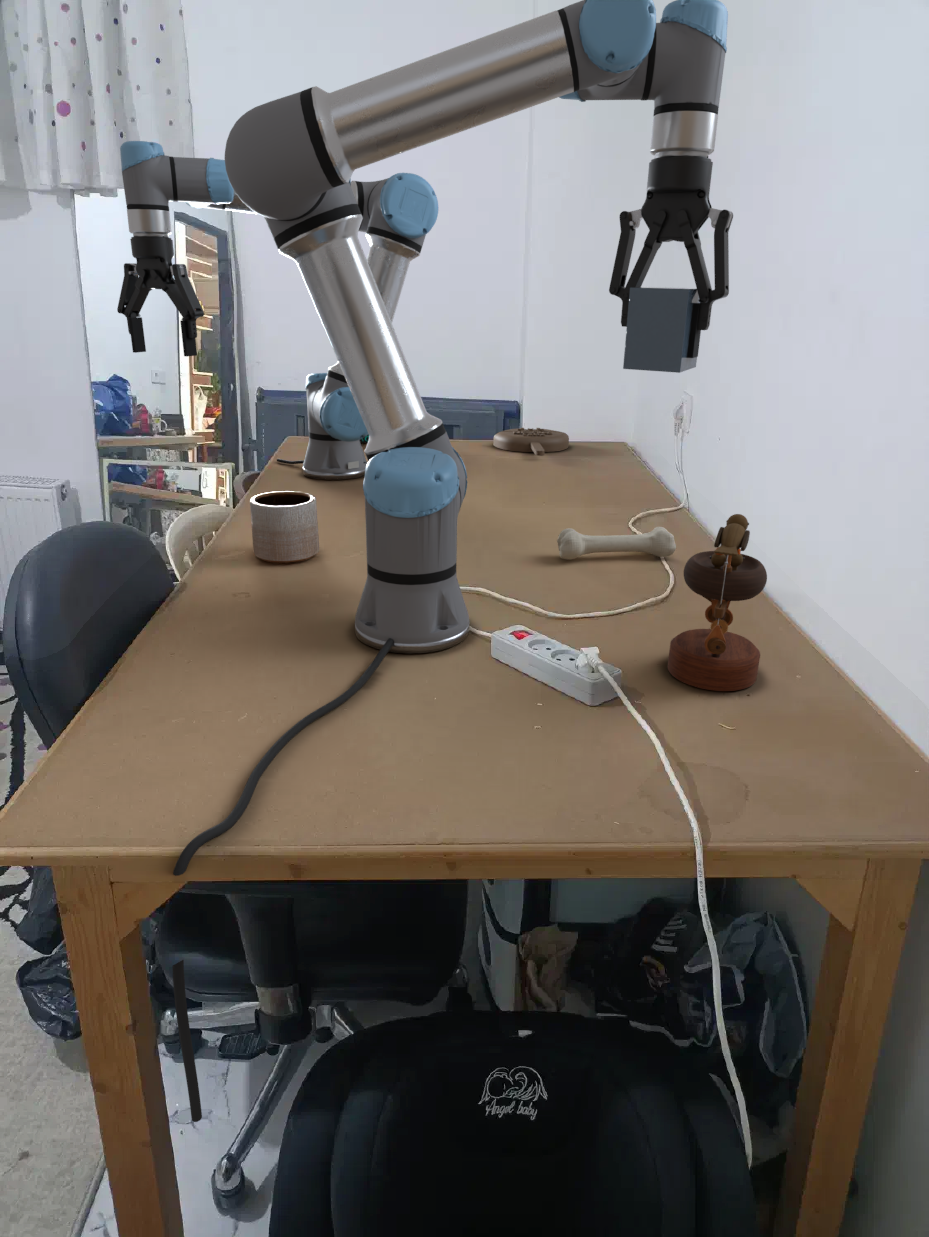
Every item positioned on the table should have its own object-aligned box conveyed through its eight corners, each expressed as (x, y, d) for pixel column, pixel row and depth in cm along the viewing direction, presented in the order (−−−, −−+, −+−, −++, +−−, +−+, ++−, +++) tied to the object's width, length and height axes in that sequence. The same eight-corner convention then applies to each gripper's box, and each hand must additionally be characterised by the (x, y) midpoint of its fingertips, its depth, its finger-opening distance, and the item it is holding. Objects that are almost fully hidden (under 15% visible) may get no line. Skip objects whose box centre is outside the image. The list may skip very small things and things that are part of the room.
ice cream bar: (499, 460, 215) (500, 444, 214) (491, 440, 241) (491, 425, 240) (581, 461, 216) (582, 444, 215) (564, 441, 242) (565, 426, 241)
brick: (695, 367, 113) (705, 288, 109) (679, 372, 106) (689, 289, 102) (641, 363, 116) (648, 287, 112) (622, 368, 109) (629, 287, 106)
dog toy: (664, 549, 148) (667, 521, 146) (677, 560, 143) (680, 531, 141) (552, 553, 145) (554, 525, 143) (561, 564, 139) (563, 535, 138)
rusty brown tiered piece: (773, 700, 96) (786, 530, 88) (674, 701, 97) (678, 534, 90) (747, 645, 110) (756, 494, 102) (660, 647, 111) (663, 498, 104)
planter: (251, 547, 145) (246, 492, 142) (314, 542, 148) (311, 489, 145) (256, 567, 136) (251, 509, 132) (324, 561, 139) (321, 504, 135)
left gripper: (216, 236, 156) (226, 356, 165) (119, 237, 167) (133, 349, 175) (186, 235, 150) (199, 359, 158) (87, 235, 161) (104, 351, 169)
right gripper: (774, 157, 101) (746, 357, 109) (610, 164, 109) (597, 349, 118) (762, 149, 94) (734, 362, 103) (590, 157, 103) (577, 353, 112)
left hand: (164, 354), depth 167 cm, fingers open, 13 cm apart
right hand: (661, 355), depth 110 cm, fingers closed on brick, 7 cm apart
